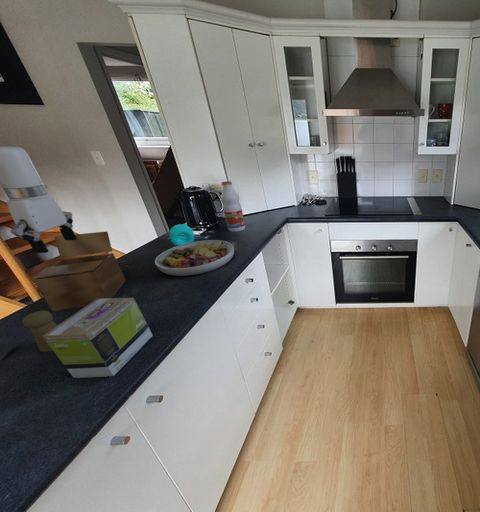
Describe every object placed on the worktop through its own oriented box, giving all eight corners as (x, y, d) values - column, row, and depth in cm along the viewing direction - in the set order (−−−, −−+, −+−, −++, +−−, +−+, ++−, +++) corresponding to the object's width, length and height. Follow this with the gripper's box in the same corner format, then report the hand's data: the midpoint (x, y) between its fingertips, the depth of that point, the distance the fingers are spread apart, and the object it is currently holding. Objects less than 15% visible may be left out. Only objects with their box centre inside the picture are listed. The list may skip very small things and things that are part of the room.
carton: (52, 311, 92) (31, 278, 86) (77, 287, 105) (60, 257, 99) (109, 302, 97) (92, 269, 91) (125, 280, 110) (112, 251, 104)
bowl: (155, 260, 126) (149, 244, 123) (226, 243, 144) (222, 230, 141) (163, 287, 106) (156, 270, 103) (244, 264, 124) (240, 249, 121)
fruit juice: (245, 225, 169) (235, 180, 157) (246, 230, 162) (235, 183, 149) (228, 227, 166) (217, 181, 153) (228, 233, 158) (216, 184, 146)
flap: (54, 236, 98) (55, 236, 98) (60, 257, 99) (61, 257, 99) (106, 231, 103) (107, 231, 104) (111, 251, 104) (112, 251, 105)
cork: (33, 349, 77) (11, 319, 72) (61, 335, 82) (41, 305, 77) (49, 354, 76) (26, 323, 71) (75, 339, 81) (56, 309, 76)
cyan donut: (173, 249, 136) (167, 231, 132) (173, 243, 144) (166, 225, 139) (197, 245, 142) (191, 227, 137) (195, 239, 149) (190, 221, 145)
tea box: (119, 337, 82) (97, 296, 75) (154, 336, 83) (135, 296, 76) (71, 379, 69) (39, 334, 62) (113, 377, 69) (87, 333, 63)
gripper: (42, 186, 86) (69, 235, 94) (-24, 200, 71) (14, 258, 78) (69, 185, 87) (93, 235, 95) (9, 199, 72) (43, 257, 79)
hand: (57, 245), depth 87 cm, fingers open, 9 cm apart
